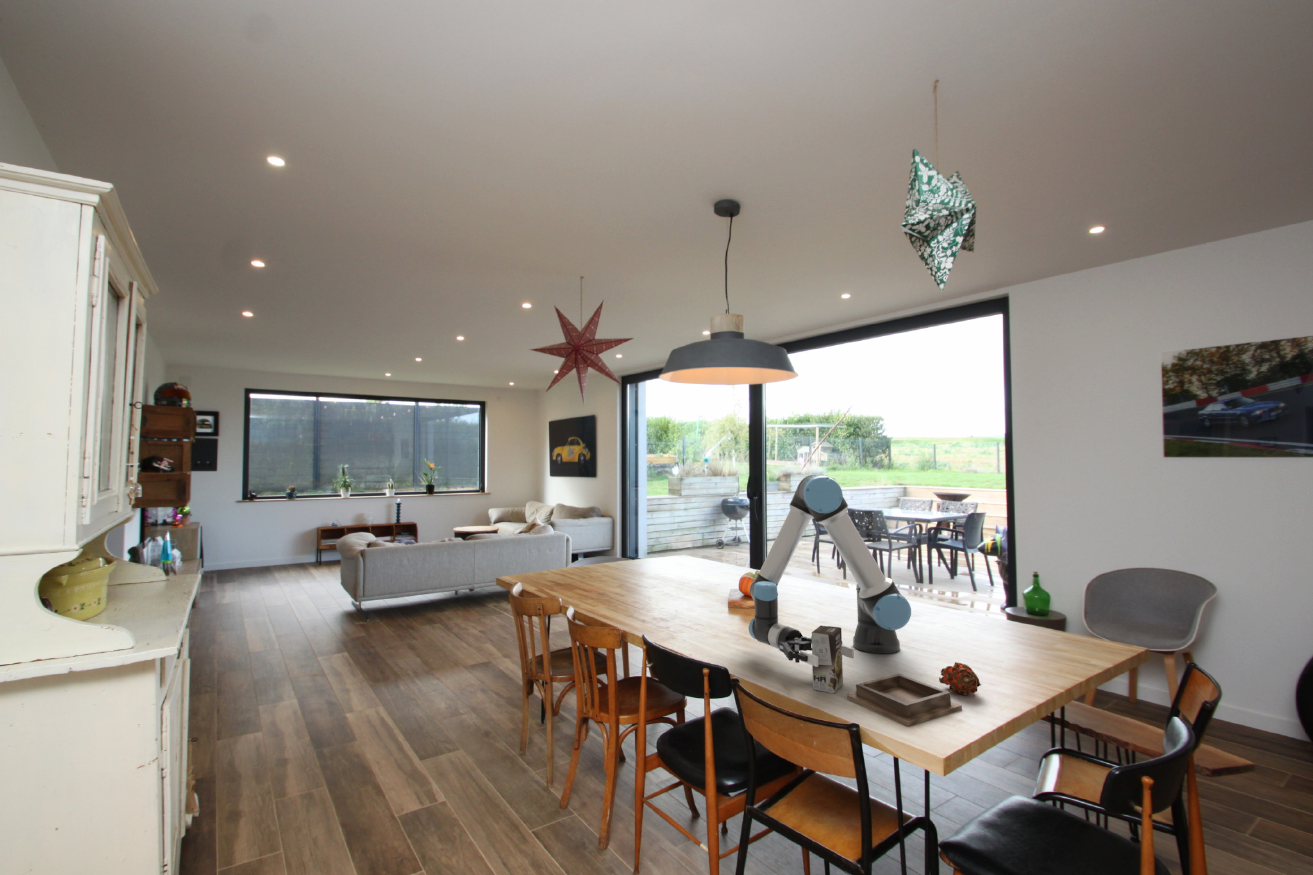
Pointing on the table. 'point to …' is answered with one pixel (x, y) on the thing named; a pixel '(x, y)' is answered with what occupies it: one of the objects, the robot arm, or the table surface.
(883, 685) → the holder
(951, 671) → the dragon fruit
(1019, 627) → the table surface
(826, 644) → the coffee box
